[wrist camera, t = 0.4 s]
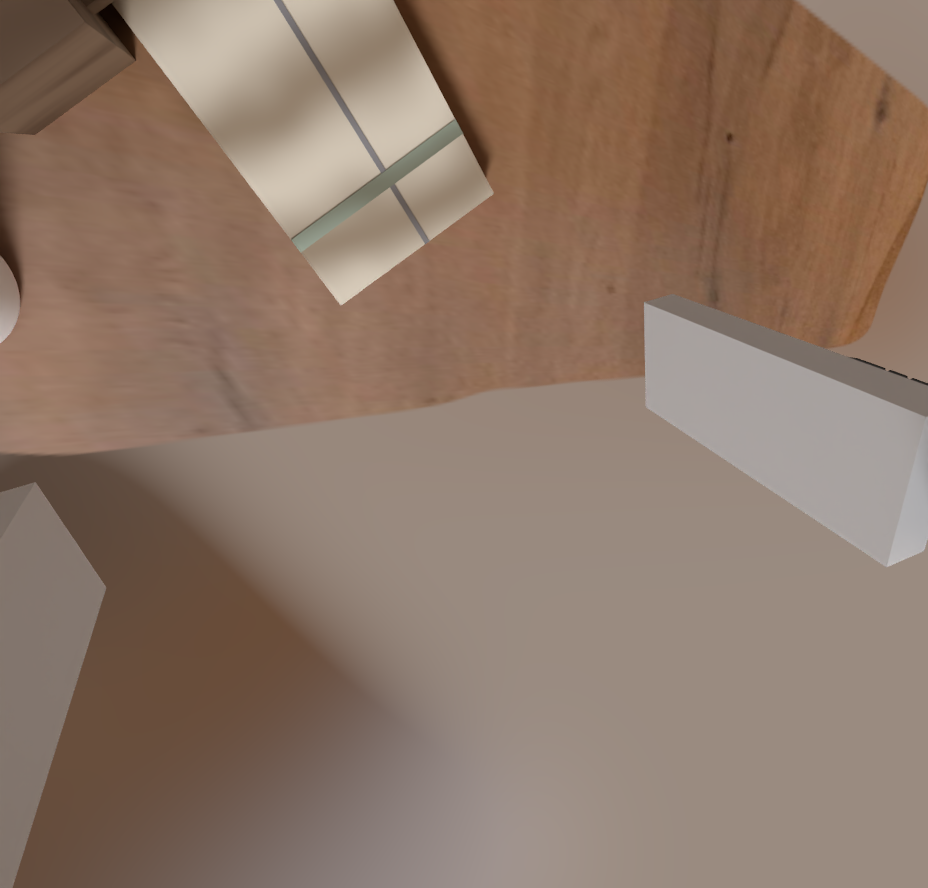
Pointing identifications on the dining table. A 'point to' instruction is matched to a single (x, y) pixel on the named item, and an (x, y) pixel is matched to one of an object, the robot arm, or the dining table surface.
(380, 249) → the board
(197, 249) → the dining table surface
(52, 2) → the block with long handle
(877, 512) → the robot arm
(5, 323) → the water bottle
